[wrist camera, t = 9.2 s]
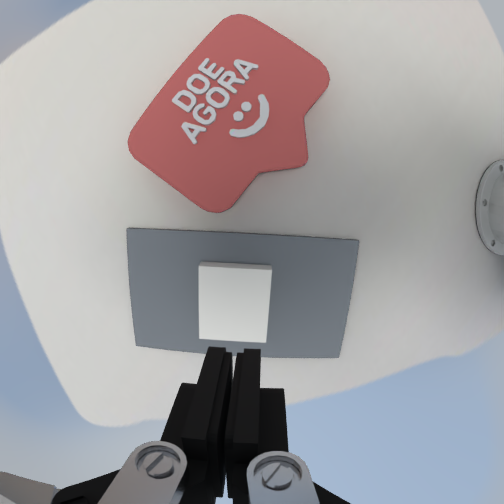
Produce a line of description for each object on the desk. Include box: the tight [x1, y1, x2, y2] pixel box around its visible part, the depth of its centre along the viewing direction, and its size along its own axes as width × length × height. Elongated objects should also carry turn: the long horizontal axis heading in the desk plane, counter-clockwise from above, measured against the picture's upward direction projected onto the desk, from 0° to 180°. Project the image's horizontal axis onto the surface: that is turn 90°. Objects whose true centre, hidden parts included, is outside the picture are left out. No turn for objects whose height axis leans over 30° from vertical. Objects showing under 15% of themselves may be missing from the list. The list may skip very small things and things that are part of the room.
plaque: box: [128, 14, 330, 213], centre depth 26 cm, size 18×4×15 cm
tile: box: [199, 261, 272, 343], centre depth 31 cm, size 2×8×7 cm
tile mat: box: [127, 228, 359, 358], centre depth 32 cm, size 24×14×1 cm, turn 87°
